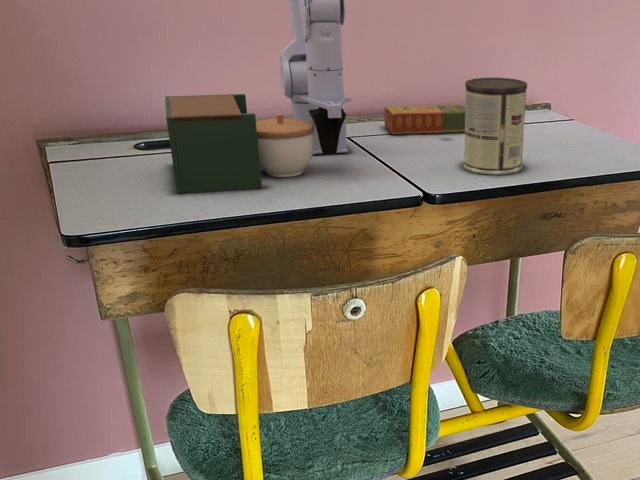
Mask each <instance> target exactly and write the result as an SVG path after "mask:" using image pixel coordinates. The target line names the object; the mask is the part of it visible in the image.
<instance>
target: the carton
mask: <svg viewBox="0 0 640 480" xmlns="http://www.w3.org/2000/svg"><path fill="white" fill-rule="evenodd" d="M383 116H384V119H383V120H384V122H383V123H384V127H386V129H387V130H388V131H389V132H390V134H392V135H399V134H400V135H401V134H456V133H457V134H459V133H461V134H462V133H463V134H465V108H463V107H462V106H460V105H458V104H450V105H447V104H445V105H413V106H412V105H407V106H406V105H403V106H402V105H401V106H400V105H399V106H385V107H384V115H383Z"/></svg>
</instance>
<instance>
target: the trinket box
mask: <svg viewBox="0 0 640 480" xmlns="http://www.w3.org/2000/svg"><path fill="white" fill-rule="evenodd" d="M256 128H257V139H258V150H259V161H260V169H261V170H263V171H264V172H265V174H266V175H267V176H271V177H276V178H290V177H296V176H300V175H302V174H303V173H304V170H305V169H306V168H307V167H308V166H309V165H310V162H311V160H312V159H313V155H314V154H313V150H314V125H313V123H311V122H309V121H306V120H302V119H293V118H292V117H291V118H289V117H284V114H283V113H277V114H276V118H265V119H259V120H256Z"/></svg>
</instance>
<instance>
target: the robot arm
mask: <svg viewBox="0 0 640 480" xmlns="http://www.w3.org/2000/svg"><path fill="white" fill-rule="evenodd" d="M288 8H289V16H290V25H291V32H292V41H291V42H290V43H289V44H288V45H287V46H285V47H284V48H283V50H282V51H281V53H280V57H279V65H280V67H279V68H280V71H279V72H280V73H279V74H280V84H281V89H282V94H283V95H284V96H285V98H287V99H289V100H290V101H291V102H290V103H291V116H292V117H291V118H292V119H302V120H306V121H309V122H311V123H313V125H314V150H313V155H323V156H336V155H337V154H341V153H348V152H349V151H348V146H347V144H348V143H347V142H348V141H347V119H346V118H347V113H346V107H345V103H347V102H348V103H350V102H352V96H351V95H348V94H346V95H345V89H344V88H345V87H344V83H345V82H344V64H343V63H344V62H343V39H342V35H343V34H342V26H344V23H345V17H346V2H345V0H288Z"/></svg>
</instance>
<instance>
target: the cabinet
mask: <svg viewBox="0 0 640 480" xmlns="http://www.w3.org/2000/svg"><path fill="white" fill-rule="evenodd" d="M164 102H165V103H164V104H165V118H166V119H165V120H166V126H167V133H168V138H169V146H170V153H171V160H172V161H171V162H172V168H173V174H174V181H175V188H176V194H190V193H191V194H192V193H207V192H208V193H209V192H221V191H222V192H223V191H237V190H254V189H262V188H263V184H262V174H261V173H262V172H261V167H260V161H259V150H258V139H257V128H256V121H257V118H256V113H255V112H249V113H248V108H247V97H246V93H231V94H228V93H227V94H201V95H200V94H198V95H171V96H169V95H168V96H164Z"/></svg>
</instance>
